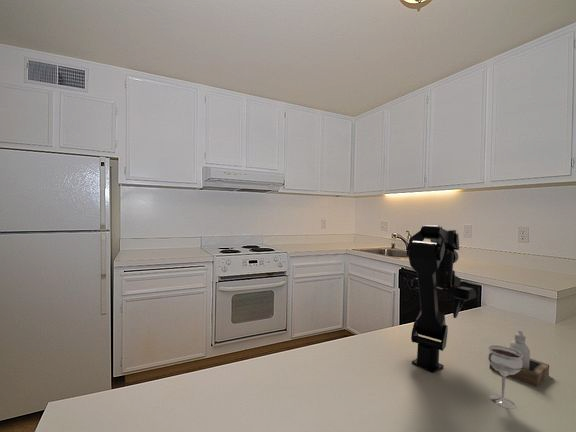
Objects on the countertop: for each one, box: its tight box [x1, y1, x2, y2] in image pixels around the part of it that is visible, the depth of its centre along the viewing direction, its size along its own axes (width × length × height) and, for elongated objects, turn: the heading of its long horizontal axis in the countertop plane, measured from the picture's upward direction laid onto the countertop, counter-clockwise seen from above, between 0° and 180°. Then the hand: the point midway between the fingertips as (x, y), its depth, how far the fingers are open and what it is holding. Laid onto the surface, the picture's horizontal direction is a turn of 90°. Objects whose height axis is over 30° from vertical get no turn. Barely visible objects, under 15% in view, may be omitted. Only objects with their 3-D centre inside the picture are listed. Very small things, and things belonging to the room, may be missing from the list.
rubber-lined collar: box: [489, 358, 550, 387], centre depth 85 cm, size 11×11×3 cm
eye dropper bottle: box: [509, 329, 531, 370], centre depth 85 cm, size 4×6×12 cm
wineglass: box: [487, 344, 523, 409], centre depth 70 cm, size 7×7×12 cm
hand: (440, 313), depth 97 cm, fingers open, 9 cm apart
